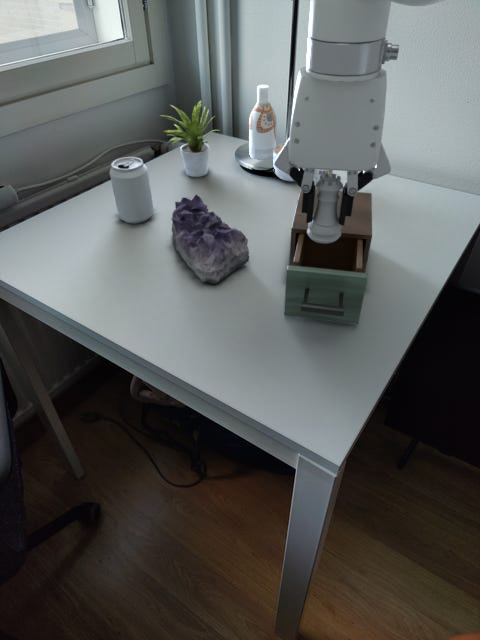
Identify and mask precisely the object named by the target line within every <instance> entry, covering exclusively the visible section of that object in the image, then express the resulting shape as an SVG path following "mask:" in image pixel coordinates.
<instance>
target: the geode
mask: <svg viewBox="0 0 480 640" xmlns="http://www.w3.org/2000/svg"><path fill="white" fill-rule="evenodd" d="M174 204H175V208H174V210H173V211H172V217H171V221H172V223H171V232H172V236H171V243H172V247H173V248H174V249H175V250H176V252H177V253H178V254H179V255H180V256H181V259H182V260H183V261H184V262H185V263H186V265H187V267H188V268H190V269H191V270H193V273H194V274H195V276H197V278H199V279H200V280H201V282H202V283H203V282H204V283H210V284H212V285H217V284H218V283H219V282H221V280H222V281H223V280H224V279H225V278H226V277H227V276H228V275H229V274H231V273H232V272H233V271H235V270H237V269H238V268H241V267H243V266H244V265H247V263H248V262H249V261H250V251H249V247H248V242H249V240H248V238H247V236H246V235H245V234H244V233H243V232H242V231H241V230H239V229H238V228H235V227H231V226H229V224H227V223H226V222H225V221H223V220H222V218H221V217H220V216H219V215H218V214H216V213H215V212H214V211H209V209H208V205H207V204H206V203H205V201H204V200H203V198H202V197H200V196H199V195H198V194H195V195H194V196H193V197H192V199H189V198H188V197H181V200H180V201H174Z"/></svg>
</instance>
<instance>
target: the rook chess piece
mask: <svg viewBox="0 0 480 640" xmlns="http://www.w3.org/2000/svg"><path fill="white" fill-rule="evenodd" d="M323 176H324V177H323ZM341 178H342V177H341V176H340V175H337V173H334V172H332V177H329V173H326V174H325V175H321V176H320V180H319V181H318V182H317V183H316V187H317V188H318V190H319V193H318V194H317V198H318V204H317V208H316V212H315V214H314V216H313V218H312V222H310V223H308V229H307V234H308V236H309V237H310V238H311V239H312V240H313V241H315V242H318V243H325V244H326V243H332V242H334V241H336V240H337V239H338V238H339V237H340V236H341V231H340V230H341V225H340V224H339V218H338V216H337V201H338V199H339V198H340V196H339V195H338V192H339V191H342V189H343V187H344V184H343V182H342V179H341Z"/></svg>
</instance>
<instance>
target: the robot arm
mask: <svg viewBox="0 0 480 640" xmlns="http://www.w3.org/2000/svg"><path fill="white" fill-rule="evenodd" d="M444 1H445V0H310V5H309V19H308V33H307V34H308V36H307V47H306V48H307V49H306V51H307V52H306V63H305V64H306V65H305V66H303V67H300V68H299V71H298V74H297V78H296V84H295V88H294V95H293V102H292V110H291V119H290V127H289V128H290V129H289V137H288V138H287V141H286V142H285V143H284V144H285V145H284V146H283V148H282V150H281V151H280V153H279V154H278V156H277V157H276V160H275V163H274V164H275V166H276V167H277V168H278V169H280V170H282V171H283V172H285V173H286V174H289V175H290V177H291V178H292V179H293V180H294V181H293V182H295V184H296V185H297V186H298V187H299V188H300V190H301V191H302V192H303V201H302V213H307V218H306V223H310V222H312V218H313V211H314V200H315V189H316V185H314V181H313V177H314V173H315V169H323V170H333V171H341V172H343V171H344V172H345V171H346V182H345V183H344V185H343V188H342V189H341V191H342V196H341V204H340V211H339V224H340V225H343V226H344V224H345V217H346V216H351V213H352V207H353V200H354V196H355V195H356V194H357V192H359V191H360V190H362V189H363V188H365V187H367V185H369V184H370V183H371V182H372V181H374V180H377V179H379V178H381V177H383V176H386V175H389V174H390V173H391V171H392V166H391V162H390V160H389V157H388V155H387V153H386V149H385V148H384V145H383V143H382V139H383V131H384V122H385V114H386V113H385V112H386V98H387V85H388V84H387V83H388V82H387V80H388V79H387V77H388V76H387V70H386V69H384V68H382V65H385V63H386V62H390V61H397V60H398V58H399V57H398V56H399V50H400V44H393V43H392V42H389V41H388V40H387V38H386V35H387V30H388V23H389V18H390V12H391V11H390V10H391V5H392V3H395V4H399V5H403V6H409V7H425V6H431V5H434V4H437V3H438V4H439V3H440V2H444ZM302 168H305V170H303V169H302Z"/></svg>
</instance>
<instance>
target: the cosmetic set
mask: <svg viewBox="0 0 480 640" xmlns="http://www.w3.org/2000/svg"><path fill="white" fill-rule="evenodd" d="M255 103H256V104H255V105H254V107H253V108H252V110H251V112H250V115H249V118H248V119H249V121H248V128H249V129H248V131H249V132H248V140H249V141H248V149H249V151H248V153H249V155H250V157H251V158H253V159H257V160H266V159H271V158H273V167H274V169H275V172H274V174H275V175H276V176H277V177H278V178H279V179H281V180H282V181H285V182H295V181H294V180H293V179H292V178H291V177H290V175H289V174H286V173H285V172H283V171H282V170H280V169H278V168H277V167H276V166H275V164H274V163H275V160H276V157H277V156H278V154H279V153H280V151H281V150H282V148H283V146H284V145H285V143H283V144H280V145H277V114H276V111H275V109H274V108H273V106H272V105H271V103H270V86H269V85H267V84H259V85H258V86H257V88H256V102H255ZM249 155H248V156H249ZM274 169H273V170H274ZM302 169H303V170H305V168H302ZM333 171H334V170H323V169H315V173H314V177H313V181H314V185H316V183H317V182H318V181H319V180H320V176H321V175H325V174H326V173H329V177H332V173H333ZM323 177H324V176H323ZM316 189H318V188H317V187H316Z"/></svg>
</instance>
